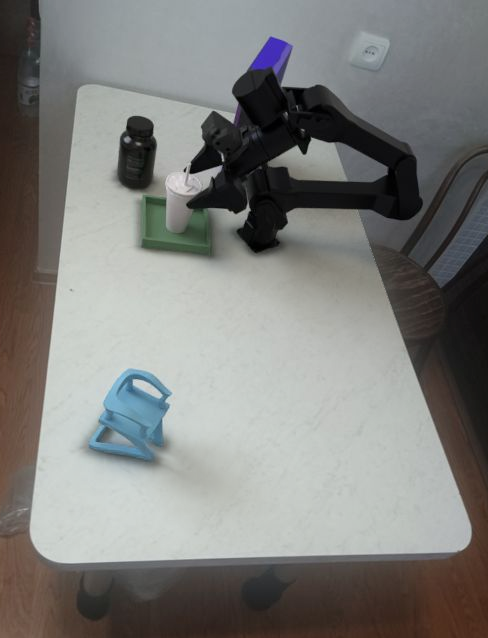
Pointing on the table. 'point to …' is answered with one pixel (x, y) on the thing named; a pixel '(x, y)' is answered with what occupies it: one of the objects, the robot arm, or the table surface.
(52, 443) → the table surface
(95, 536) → the table surface
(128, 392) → the chair
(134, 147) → the supplement bottle
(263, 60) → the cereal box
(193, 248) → the tray
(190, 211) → the smoothie
